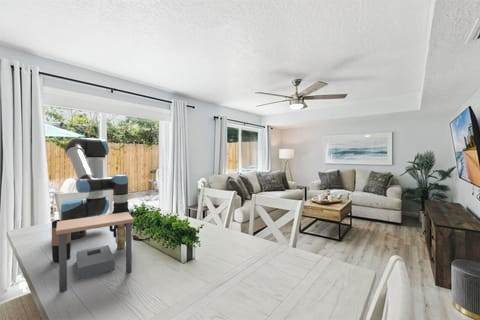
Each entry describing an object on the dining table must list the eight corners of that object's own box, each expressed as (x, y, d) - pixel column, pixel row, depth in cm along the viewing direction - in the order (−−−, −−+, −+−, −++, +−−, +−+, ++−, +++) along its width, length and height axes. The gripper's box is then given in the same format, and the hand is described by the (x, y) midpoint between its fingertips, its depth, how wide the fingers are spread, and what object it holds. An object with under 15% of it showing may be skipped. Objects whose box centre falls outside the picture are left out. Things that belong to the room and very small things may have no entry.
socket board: (76, 261, 114) (76, 251, 113) (108, 254, 122) (108, 245, 122) (78, 279, 98) (77, 268, 98) (114, 269, 106) (114, 259, 106)
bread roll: (130, 236, 148) (132, 228, 148) (148, 235, 155) (149, 227, 155) (134, 242, 139) (136, 234, 139) (153, 241, 146) (154, 233, 146)
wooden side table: (57, 276, 99) (57, 221, 99) (127, 259, 116) (127, 211, 116) (56, 293, 88) (55, 230, 87) (133, 271, 105) (133, 218, 104)
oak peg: (116, 247, 131) (116, 223, 130) (124, 245, 133) (124, 222, 133) (117, 249, 128) (117, 225, 127) (125, 248, 130) (125, 224, 130)
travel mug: (60, 263, 111) (60, 223, 110) (47, 262, 112) (47, 222, 112) (74, 256, 118) (74, 219, 118) (62, 255, 120) (62, 218, 119)
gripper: (104, 204, 121) (105, 247, 122) (138, 201, 132) (138, 240, 132) (103, 202, 127) (103, 242, 128) (135, 198, 138) (135, 236, 138)
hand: (120, 241), depth 130 cm, fingers closed on oak peg, 4 cm apart
